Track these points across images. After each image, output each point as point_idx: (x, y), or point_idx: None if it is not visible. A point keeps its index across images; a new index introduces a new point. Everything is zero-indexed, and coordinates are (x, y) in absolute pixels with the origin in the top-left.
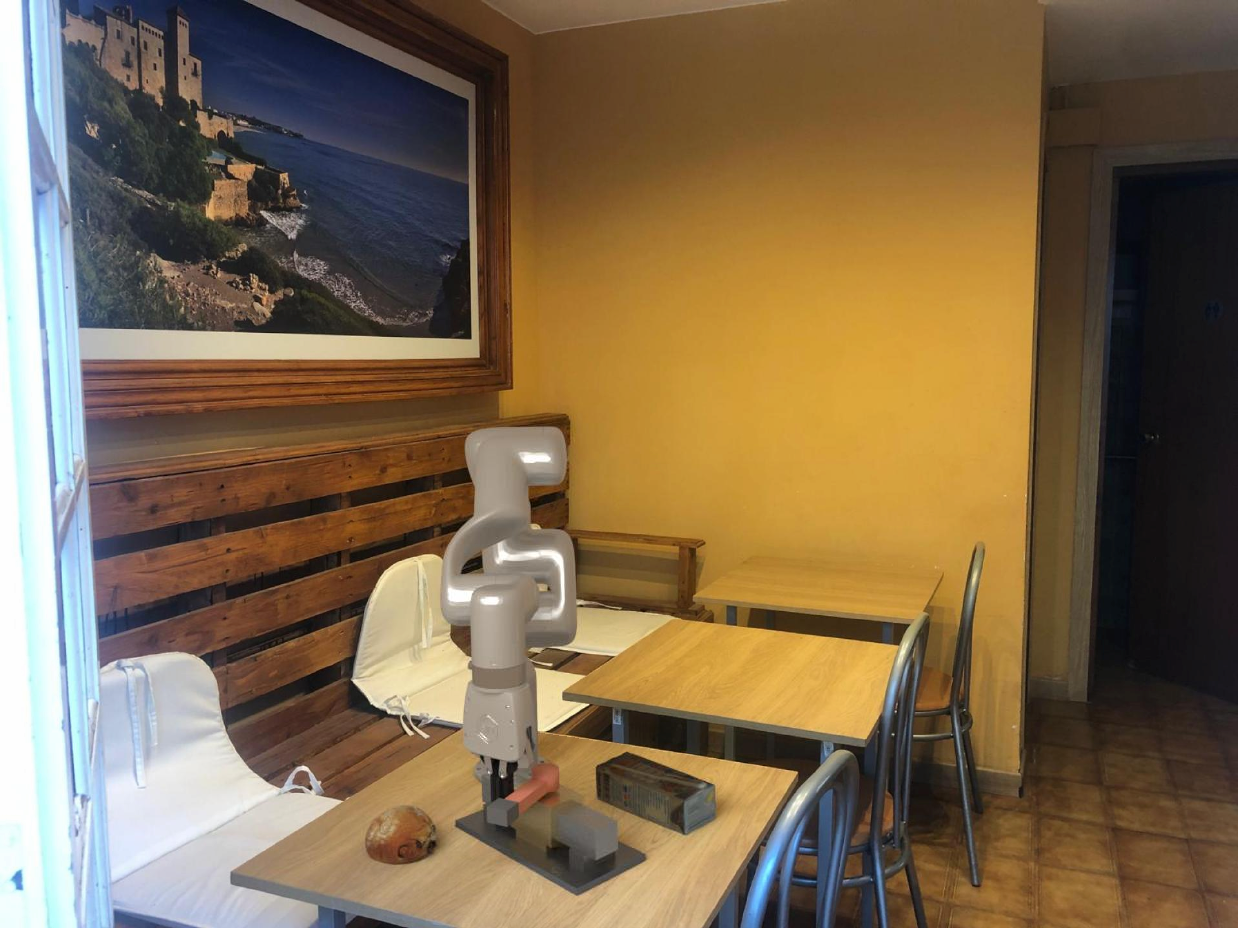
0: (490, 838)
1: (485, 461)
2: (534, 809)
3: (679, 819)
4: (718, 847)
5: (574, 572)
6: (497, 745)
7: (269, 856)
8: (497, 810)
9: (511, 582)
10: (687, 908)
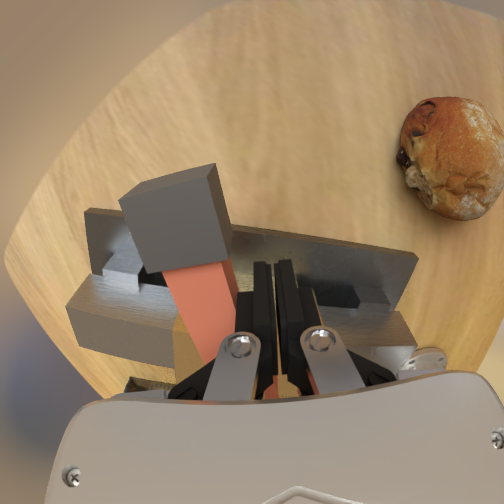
0: (330, 247)
1: None
2: None
3: (131, 390)
4: (92, 368)
5: None
6: (190, 492)
7: None
8: (157, 187)
9: None
10: (15, 266)
